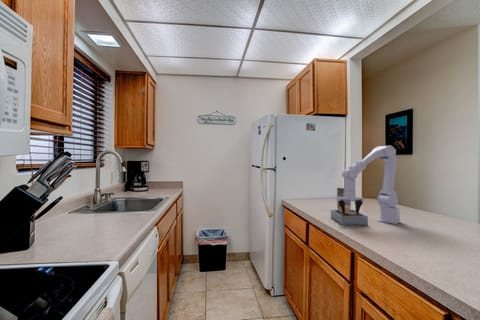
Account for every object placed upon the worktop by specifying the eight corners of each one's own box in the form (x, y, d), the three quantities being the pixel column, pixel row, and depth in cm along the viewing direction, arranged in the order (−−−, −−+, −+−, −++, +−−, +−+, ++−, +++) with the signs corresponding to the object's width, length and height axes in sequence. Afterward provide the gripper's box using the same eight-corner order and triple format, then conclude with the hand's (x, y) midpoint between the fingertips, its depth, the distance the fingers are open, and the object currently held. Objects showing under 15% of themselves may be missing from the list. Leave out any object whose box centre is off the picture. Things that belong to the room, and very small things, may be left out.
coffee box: (336, 209, 176) (336, 187, 176) (345, 209, 176) (345, 187, 176) (341, 212, 167) (341, 189, 167) (351, 212, 167) (351, 189, 167)
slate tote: (330, 217, 153) (330, 209, 153) (353, 217, 152) (353, 209, 152) (341, 225, 135) (341, 216, 135) (367, 225, 134) (367, 216, 134)
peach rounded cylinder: (350, 218, 147) (350, 206, 147) (346, 219, 144) (346, 207, 144) (342, 216, 151) (342, 205, 151) (338, 217, 148) (338, 206, 148)
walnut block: (357, 221, 139) (357, 213, 139) (351, 223, 136) (351, 214, 136) (349, 220, 143) (349, 211, 143) (343, 221, 141) (343, 212, 141)
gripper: (359, 188, 143) (359, 212, 143) (334, 189, 144) (334, 212, 144) (365, 190, 136) (365, 214, 136) (339, 190, 137) (339, 214, 137)
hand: (350, 213), depth 140 cm, fingers open, 7 cm apart
